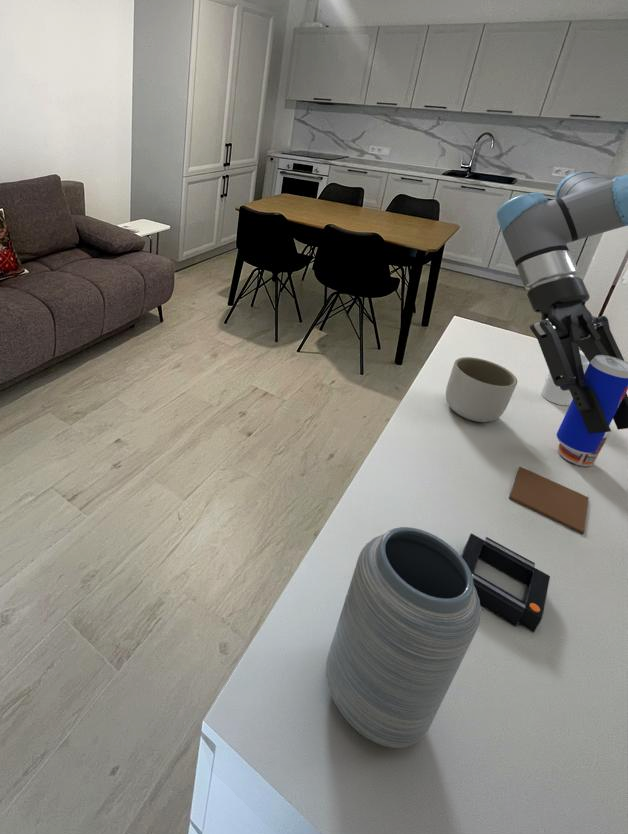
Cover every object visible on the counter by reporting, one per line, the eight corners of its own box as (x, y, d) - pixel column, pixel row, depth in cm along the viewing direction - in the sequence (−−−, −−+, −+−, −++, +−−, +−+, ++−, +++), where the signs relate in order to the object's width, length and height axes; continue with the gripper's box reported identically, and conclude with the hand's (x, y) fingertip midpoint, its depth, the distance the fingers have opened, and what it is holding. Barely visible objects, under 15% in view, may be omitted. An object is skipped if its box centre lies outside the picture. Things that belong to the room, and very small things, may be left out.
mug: (573, 410, 119) (593, 367, 114) (540, 399, 122) (558, 357, 117) (569, 391, 127) (587, 350, 122) (538, 381, 130) (555, 341, 125)
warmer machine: (543, 585, 74) (551, 570, 73) (532, 637, 67) (541, 621, 65) (466, 542, 80) (473, 527, 79) (448, 585, 73) (455, 570, 72)
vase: (448, 736, 55) (520, 598, 46) (365, 779, 51) (426, 637, 42) (377, 635, 65) (424, 504, 56) (302, 664, 61) (341, 529, 52)
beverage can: (600, 460, 75) (644, 375, 69) (561, 450, 77) (601, 367, 71) (587, 439, 80) (627, 358, 74) (550, 430, 81) (587, 350, 75)
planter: (451, 423, 110) (466, 382, 106) (433, 392, 121) (446, 353, 117) (510, 432, 109) (528, 390, 104) (487, 400, 120) (502, 361, 116)
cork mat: (587, 499, 92) (588, 497, 91) (582, 534, 84) (584, 532, 84) (519, 468, 98) (520, 466, 98) (508, 498, 90) (509, 496, 90)
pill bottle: (589, 454, 104) (612, 409, 99) (595, 472, 99) (620, 426, 94) (554, 443, 106) (575, 399, 102) (559, 460, 101) (581, 414, 97)
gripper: (572, 290, 86) (632, 426, 78) (489, 294, 81) (544, 440, 73) (617, 273, 80) (687, 420, 72) (529, 276, 75) (594, 434, 67)
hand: (614, 430), depth 73 cm, fingers closed on beverage can, 5 cm apart
